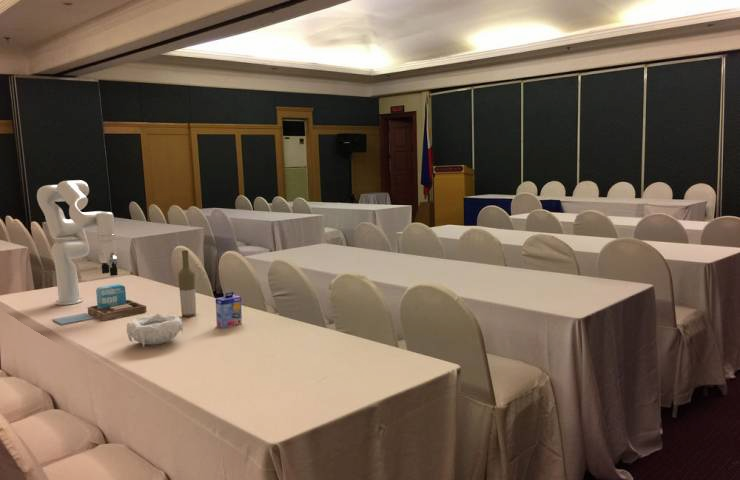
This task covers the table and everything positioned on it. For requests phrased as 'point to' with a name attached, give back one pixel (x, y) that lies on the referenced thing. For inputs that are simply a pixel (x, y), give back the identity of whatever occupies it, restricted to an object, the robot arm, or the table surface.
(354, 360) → the table surface
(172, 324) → the bowl
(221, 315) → the ink cartridge box
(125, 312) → the rack
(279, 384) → the table surface
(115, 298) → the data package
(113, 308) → the offcut stack
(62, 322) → the mat
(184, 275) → the bottle
